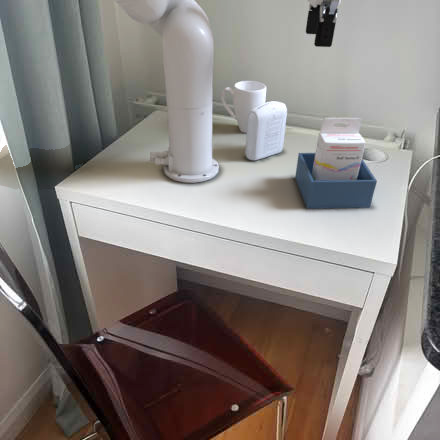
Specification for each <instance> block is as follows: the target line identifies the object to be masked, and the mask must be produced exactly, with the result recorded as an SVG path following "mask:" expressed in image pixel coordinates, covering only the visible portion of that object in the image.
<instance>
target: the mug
mask: <svg viewBox="0 0 440 440" xmlns="http://www.w3.org/2000/svg"><path fill="white" fill-rule="evenodd" d="M226 91H228V92H229V93H230V94H231V95H232V103H233V104H232V106H233V110H232V109H231V108H230V107H229V105H228V104H227V102H226ZM220 98H221V100H220V101H221V103H222V105H223V107H224V109H225V110H226V111H227V113H228V114H229V115H230V116H231V117H232V118H233V119H234V120H235V121H236V122H237V125H238V129H239V131H240V132H241V133H245V134H247V121H248V114H249V112H250V111H251V110H252V109H253V108H255V107H257V106H258V105H260V104H263V103H266V100H267V85H266V84H265V83H263V82H260V81H257V80H242V81H238V82H235V84H234V85H233V88H232V87H225V88H223V90H222V92H221V97H220ZM233 111H234V112H233Z"/></svg>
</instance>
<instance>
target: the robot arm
mask: <svg viewBox="0 0 440 440" xmlns="http://www.w3.org/2000/svg"><path fill="white" fill-rule="evenodd" d="M114 2H115V3H116V4H117V5H118V6H119V7H120V8H121V9H122V10H123V12H124V13H125V14H126V15H127V16H129V18H131V19H132V20H134V21H136V22H137V23H141V24H145V25H147V24H149V26H150V27H152V29H153V30H154V31H156V32H157V33H158V34H159V36H161V37H162V40H161V41H162V60H163V70H164V83H165V98H166V113H167V129H168V148H167V149H168V150H164V151H163V152H158V151H150V152H149V159H150V162H154V164H155V165H156V166H159V165H160V166H161V165H163V172H164V174H165V176H166V177H168V178H170V179H171V180H174V181H176V182H181V183H190V184H192V183H193V184H195V183H202V182H206V181H209V180H211V179H213V178H215V177H216V176H217V175H218V174H219V171H220V167H219V166H220V165H219V163H218V161H217V160H215V158H213V75H214V73H213V72H214V54H215V53H214V51H215V50H214V49H215V48H214V47H215V45H214V37H213V30H212V27H211V24H210V20H209V17H208V16H207V14H206V12H205V11H204V10H203V8H202V7H201V6H200V5H199V4H198V3H197V1H196V0H114ZM307 2H308V3H309V7H308V12H307V18H306V25H305V33H306V34H307V35H315V37H314V43H313V44H314V46H315V47H317V48H319V47H320V48H331V47H332V45H333V41H334V35H335V30H336V24H337V19H338V15H337V14H338V10H339V9H338V7H339V6H340V5H341V3H342V0H307Z"/></svg>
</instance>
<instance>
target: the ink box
mask: <svg viewBox="0 0 440 440" xmlns="http://www.w3.org/2000/svg"><path fill="white" fill-rule="evenodd" d="M362 121H363V120H362V118H361V117H323V118H322V120H321V126H320V131H319V132H318V136H317V142H316V148H315V152H314V153H315V158H314V164H313V170H312V175H311V176H312V178H313V180H314V181H331V180H357V176H358V172H359V168H360V164H361V160H362V159H363V156H364V152H365V148H366V144H367V143H366V140H365V139H364V137H363V136H362V135H361V133H359V132H360V128H361V125H362ZM341 123H343V124H344V125H345V124H347V125H346V126H335V125H336V124H341Z"/></svg>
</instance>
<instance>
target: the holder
mask: <svg viewBox="0 0 440 440" xmlns="http://www.w3.org/2000/svg"><path fill="white" fill-rule="evenodd" d="M315 153H316V152H298V155H297V161H296V170H295V177H294V179H295V182H296V183H297V187H298V189H299V191H300V194H301V196H302V199H303V201H304V204H305V207H306V209H310V210H311V209H351V208H352V209H354V208H357V209H359V208H370V207H371V204H372V201H373V198H374V194H375V190H376V186H377V184H378V181H377V178H376V177H375V176H374V174H373V173H372V171H371V170H370V168H369V167H368V166H367V165H368V164H367V163H366V162H365V160H364V159H363V158H362V160H361V164H360V168H359V172H358V176H357V180H331V181H314V180H313V178H312V176H311V175H312V170H313V164H314V158H315Z"/></svg>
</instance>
